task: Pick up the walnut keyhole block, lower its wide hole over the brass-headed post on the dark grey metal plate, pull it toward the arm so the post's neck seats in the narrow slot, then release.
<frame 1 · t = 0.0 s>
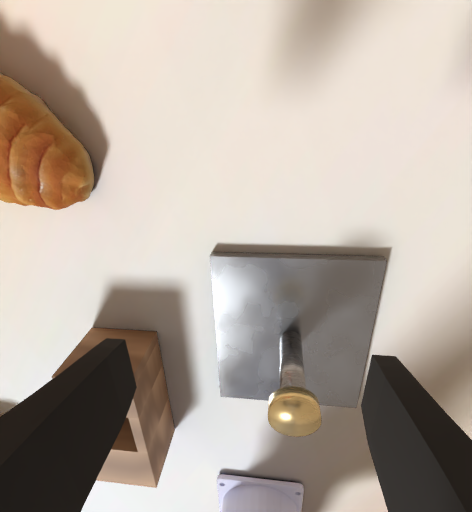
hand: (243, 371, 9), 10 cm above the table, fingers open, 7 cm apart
hook plate: (290, 333, 21), on the table
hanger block: (136, 383, 25), on the table
pastry: (15, 131, 18), on the table
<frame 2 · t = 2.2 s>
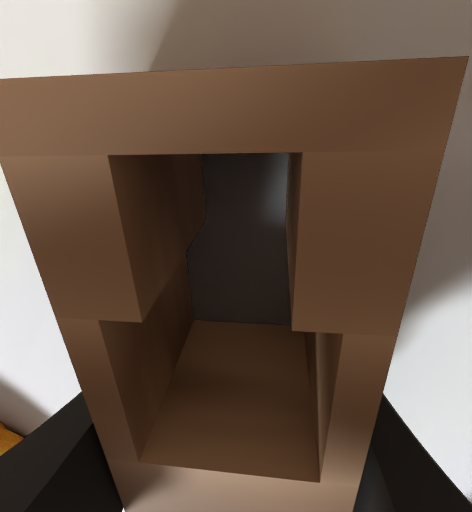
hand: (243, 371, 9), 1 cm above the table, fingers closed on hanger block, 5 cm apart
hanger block: (246, 289, 10), on the table, touching gripper
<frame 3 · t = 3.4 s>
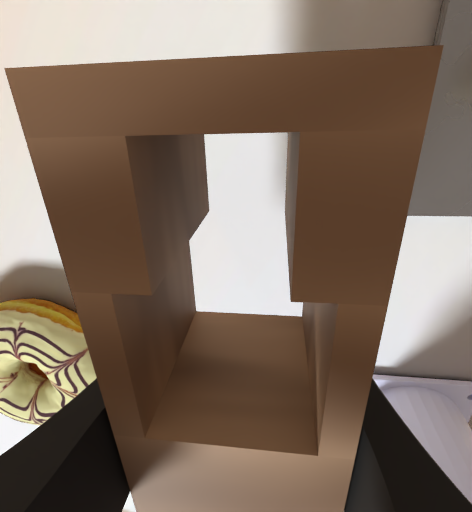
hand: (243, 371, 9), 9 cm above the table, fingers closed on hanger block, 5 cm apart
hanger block: (247, 280, 10), point 7 cm above the table, touching gripper
decorated donut: (61, 345, 24), on the table
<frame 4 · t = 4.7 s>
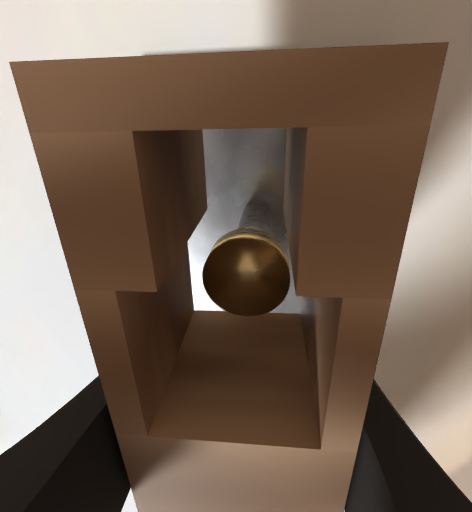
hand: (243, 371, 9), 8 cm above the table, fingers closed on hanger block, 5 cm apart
hook plate: (258, 211, 15), on the table
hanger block: (245, 278, 10), point 6 cm above the table, touching gripper
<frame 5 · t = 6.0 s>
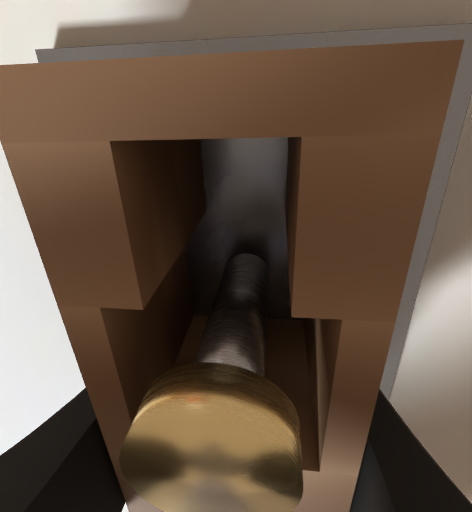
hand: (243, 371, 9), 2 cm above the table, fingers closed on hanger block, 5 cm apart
hook plate: (248, 265, 10), on the table
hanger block: (246, 283, 10), point 1 cm above the table, touching gripper, hook plate
when the fingers open (2 cm above the table, at t = 7.2 s): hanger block stays where it is, resting on hook plate.
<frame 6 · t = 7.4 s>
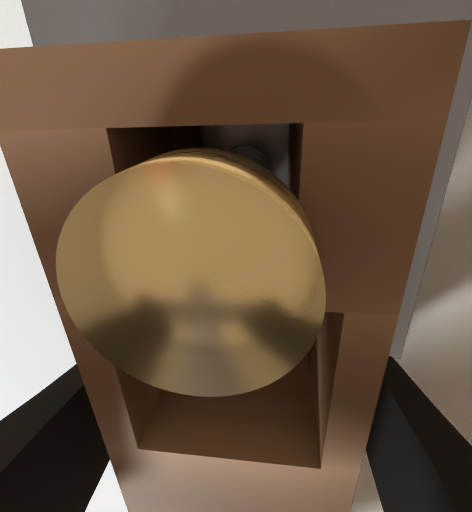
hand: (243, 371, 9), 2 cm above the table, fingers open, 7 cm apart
hook plate: (246, 169, 9), on the table
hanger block: (246, 280, 10), point 1 cm above the table, touching hook plate
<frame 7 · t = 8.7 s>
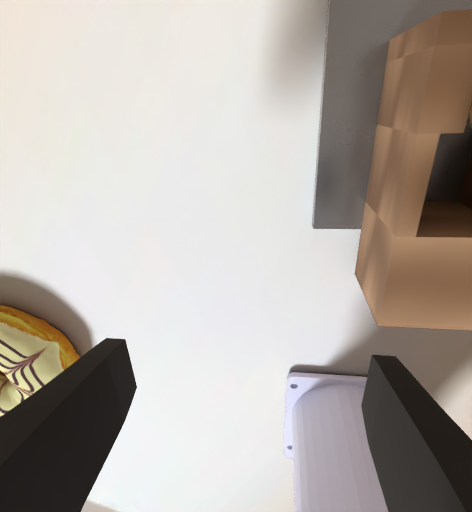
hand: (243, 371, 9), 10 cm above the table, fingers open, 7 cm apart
hook plate: (435, 99, 14), on the table
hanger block: (424, 174, 15), point 1 cm above the table, touching hook plate
decorated donut: (26, 347, 25), on the table
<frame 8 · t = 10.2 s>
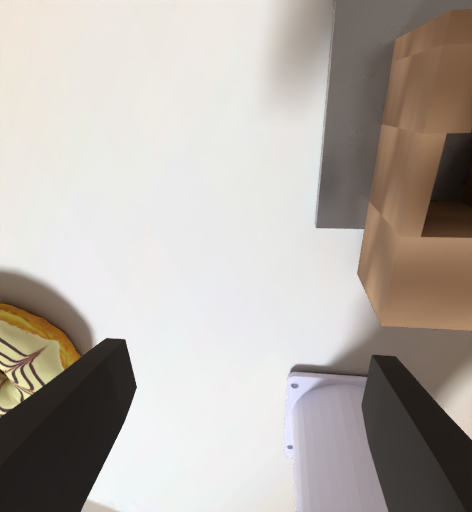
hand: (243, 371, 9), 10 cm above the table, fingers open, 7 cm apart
hook plate: (439, 99, 14), on the table
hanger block: (428, 175, 15), point 1 cm above the table, touching hook plate
decorated donut: (25, 345, 25), on the table
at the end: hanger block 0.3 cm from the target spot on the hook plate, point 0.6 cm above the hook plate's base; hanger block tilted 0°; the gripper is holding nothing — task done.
